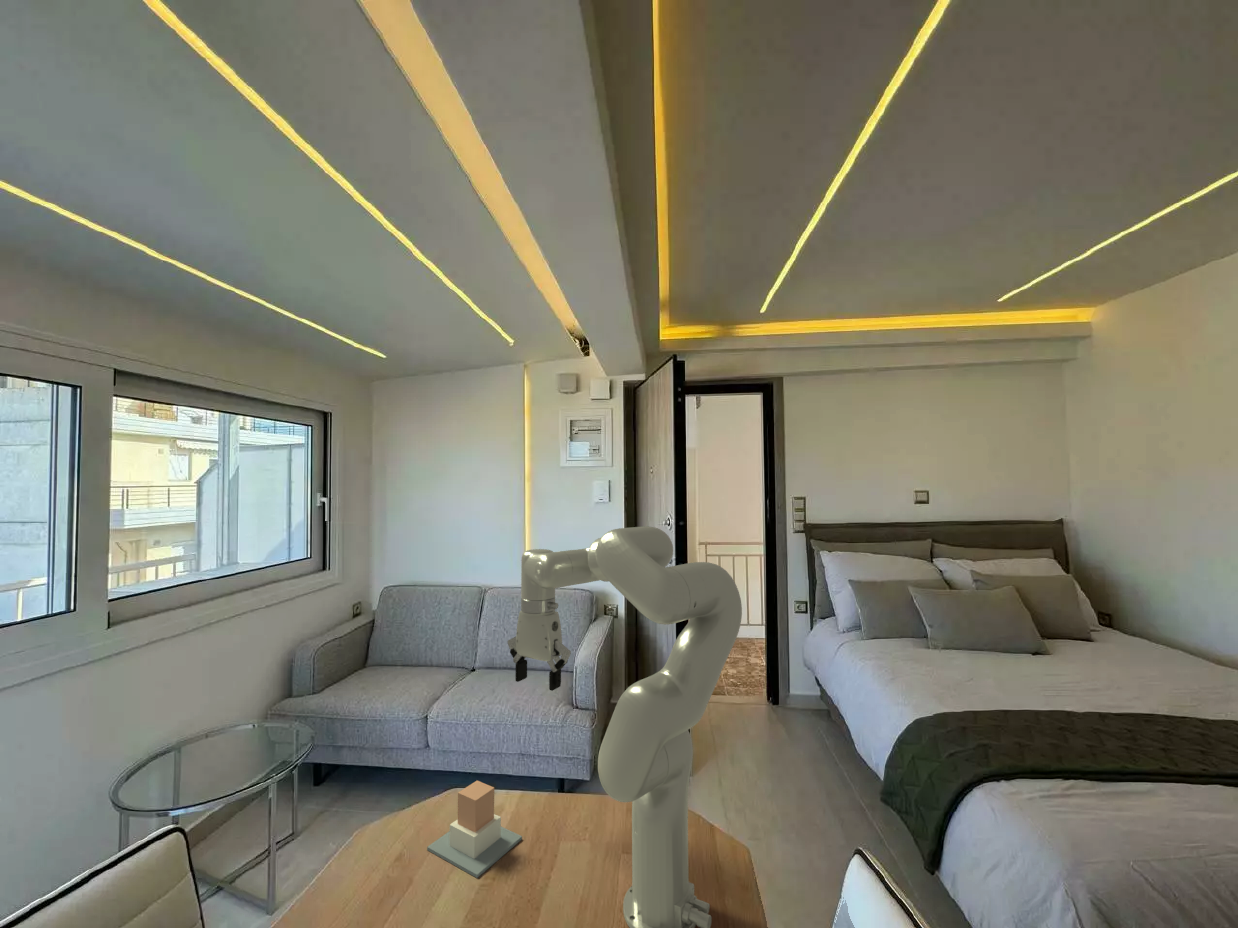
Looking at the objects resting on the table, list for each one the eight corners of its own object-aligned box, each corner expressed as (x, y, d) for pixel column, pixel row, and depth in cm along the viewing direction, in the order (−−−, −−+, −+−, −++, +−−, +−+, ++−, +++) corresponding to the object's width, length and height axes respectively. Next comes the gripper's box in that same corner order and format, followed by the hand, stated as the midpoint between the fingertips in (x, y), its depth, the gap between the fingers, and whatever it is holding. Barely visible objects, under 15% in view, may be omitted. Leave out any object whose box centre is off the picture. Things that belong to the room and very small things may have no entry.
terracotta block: (494, 818, 101) (494, 787, 102) (475, 832, 97) (475, 800, 97) (476, 810, 104) (477, 780, 104) (457, 823, 100) (458, 792, 100)
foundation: (521, 839, 102) (522, 815, 102) (477, 877, 91) (477, 851, 92) (473, 816, 109) (474, 794, 109) (427, 849, 99) (427, 825, 99)
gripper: (579, 606, 110) (579, 686, 109) (520, 598, 119) (520, 671, 118) (558, 613, 104) (558, 698, 103) (497, 604, 113) (497, 681, 112)
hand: (537, 683), depth 110 cm, fingers open, 9 cm apart
